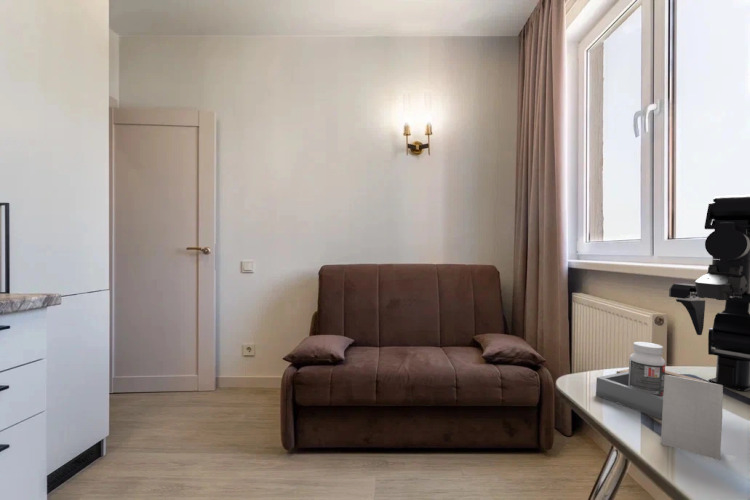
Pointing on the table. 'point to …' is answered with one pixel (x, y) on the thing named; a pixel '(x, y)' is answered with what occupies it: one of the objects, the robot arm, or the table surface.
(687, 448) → the upright grey panel
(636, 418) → the table surface
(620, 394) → the parts tray
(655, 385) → the pill bottle
